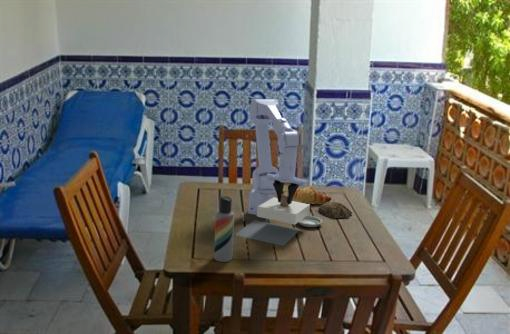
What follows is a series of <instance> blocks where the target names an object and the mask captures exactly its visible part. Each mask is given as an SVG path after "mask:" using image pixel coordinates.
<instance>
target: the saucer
mask: <svg viewBox="0 0 510 334" xmlns="http://www.w3.org/2000/svg"><path fill="white" fill-rule="evenodd" d="M322 223H323V219H322V218H320V217H318V216H314V215H310V214H309V215H307V216H306V217H305V218H303V219H302V220H301V221H299V222H298V223H297V224H299V225H300V226H302V227H306V228H315V227H319V226H320V225H322Z"/></svg>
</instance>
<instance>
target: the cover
mask: <svg viewBox="0 0 510 334" xmlns="http://www.w3.org/2000/svg"><path fill="white" fill-rule="evenodd" d="M310 208H311V205H310V204H305V203H300V202H295V201H292V203H291V204H288V194H284V193H283V194H281V201H280V202H278V198H277V197H276V196H275V197H274V198H272V199H270V200H268V201H267V202H265V203H263V204H261V205H260V206H258V209H257V215H256V217H258V218H261V219H262V218H263V219H267V220H272V221H277V222H281V223H286V224H290V225H295V226H296V224H297V225H298V224H299V223H298V222H299V221H301V220H302V219H303V218H305V217H306V216H307V215H309V216H310V210H311V209H310Z"/></svg>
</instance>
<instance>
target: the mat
mask: <svg viewBox="0 0 510 334" xmlns="http://www.w3.org/2000/svg"><path fill="white" fill-rule="evenodd" d="M300 231H301V229H300V228H296V227H290V226H285V225H280V224H276V223H272V222H271V223H270V222H265V221H262V220H261V221H260V220H256V219H254V220H253V221H251V222H250V223H248V224H247V225H246V226H245V227H243V228H242V229H240V230H239V231H238V232H237V233H234V236H236V237H237V236H238V237H243V238H247V239H251V240H256V241H260V242H264V243H269V244H273V245H278V246H283V247H284V246H285V245H286V244H287V243H288V242H289V241H290V240H291V239H292V238H294V236H295V235H296V234H297V233H299V232H300Z"/></svg>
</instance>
